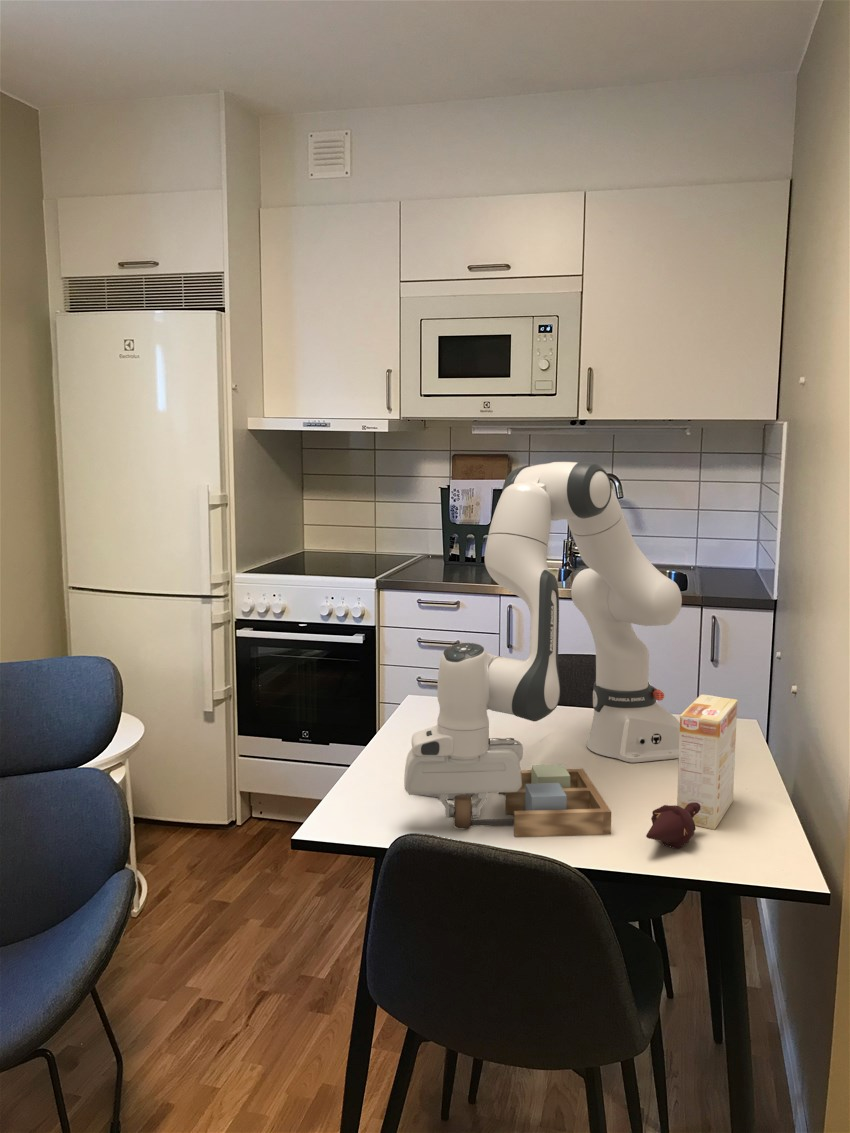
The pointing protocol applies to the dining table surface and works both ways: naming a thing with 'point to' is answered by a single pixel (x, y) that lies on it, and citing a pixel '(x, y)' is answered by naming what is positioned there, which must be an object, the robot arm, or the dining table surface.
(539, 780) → the sage block
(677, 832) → the maroon long bulbous piece
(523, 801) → the oak lanes
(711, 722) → the coffeecake box
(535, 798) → the tethered block
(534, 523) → the robot arm
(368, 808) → the dining table surface
